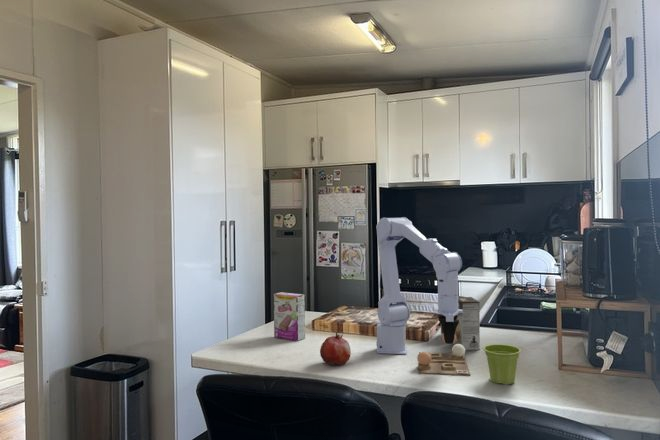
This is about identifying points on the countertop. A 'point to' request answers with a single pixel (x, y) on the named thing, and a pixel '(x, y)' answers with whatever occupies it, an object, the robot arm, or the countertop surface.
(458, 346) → the cream ball
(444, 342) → the terracotta ball
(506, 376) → the plant pot
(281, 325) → the candy bar box
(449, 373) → the board
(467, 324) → the coffee box
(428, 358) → the terracotta ball
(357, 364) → the countertop surface
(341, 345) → the fruit
